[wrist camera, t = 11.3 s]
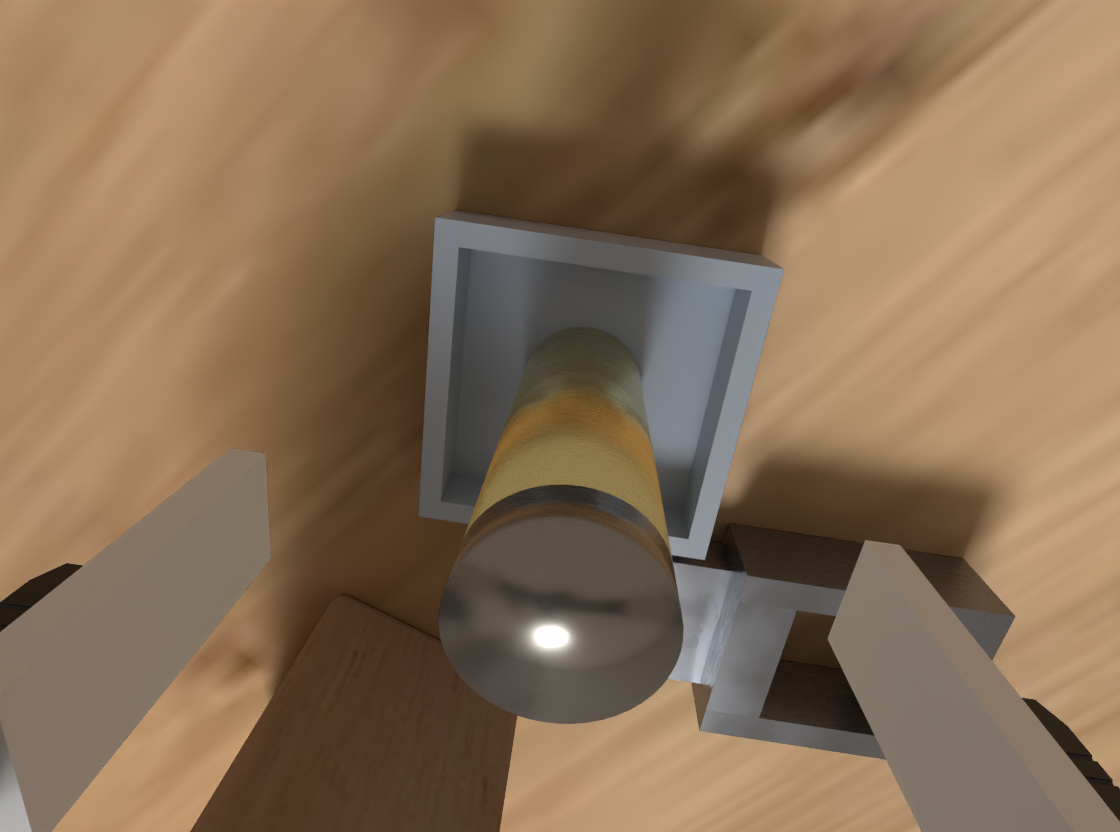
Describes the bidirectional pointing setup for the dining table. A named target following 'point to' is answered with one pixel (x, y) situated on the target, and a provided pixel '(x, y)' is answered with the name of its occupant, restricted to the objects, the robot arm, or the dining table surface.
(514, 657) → the pin
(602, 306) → the tray
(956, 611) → the bar
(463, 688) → the wooden block
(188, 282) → the dining table surface
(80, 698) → the robot arm
